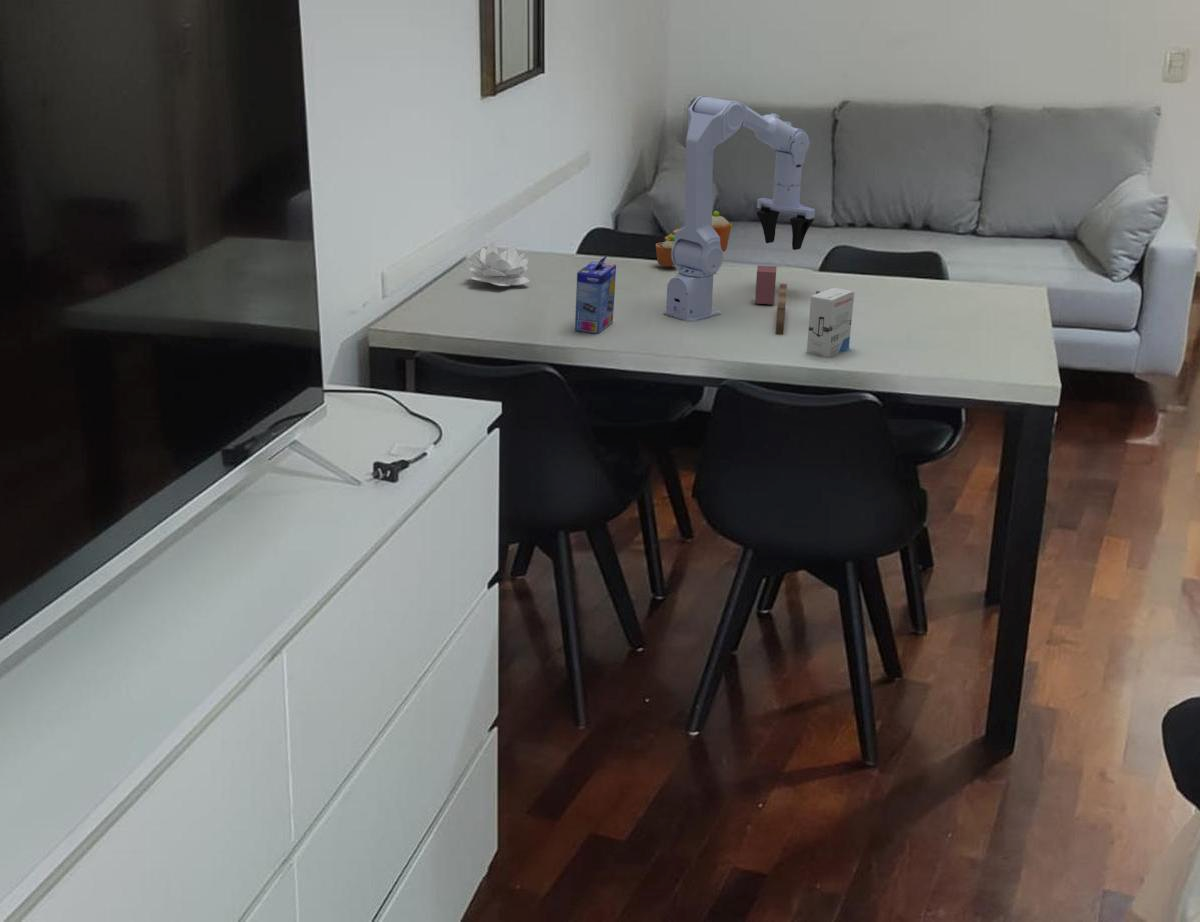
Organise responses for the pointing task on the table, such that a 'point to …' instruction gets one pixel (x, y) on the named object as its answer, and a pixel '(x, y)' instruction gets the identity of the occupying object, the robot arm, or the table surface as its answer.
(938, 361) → the table surface
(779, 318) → the shelf wall
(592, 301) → the ink cartridge box
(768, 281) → the mauve rectangular block
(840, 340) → the ink box
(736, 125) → the robot arm
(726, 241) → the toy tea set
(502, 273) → the lotus flower
